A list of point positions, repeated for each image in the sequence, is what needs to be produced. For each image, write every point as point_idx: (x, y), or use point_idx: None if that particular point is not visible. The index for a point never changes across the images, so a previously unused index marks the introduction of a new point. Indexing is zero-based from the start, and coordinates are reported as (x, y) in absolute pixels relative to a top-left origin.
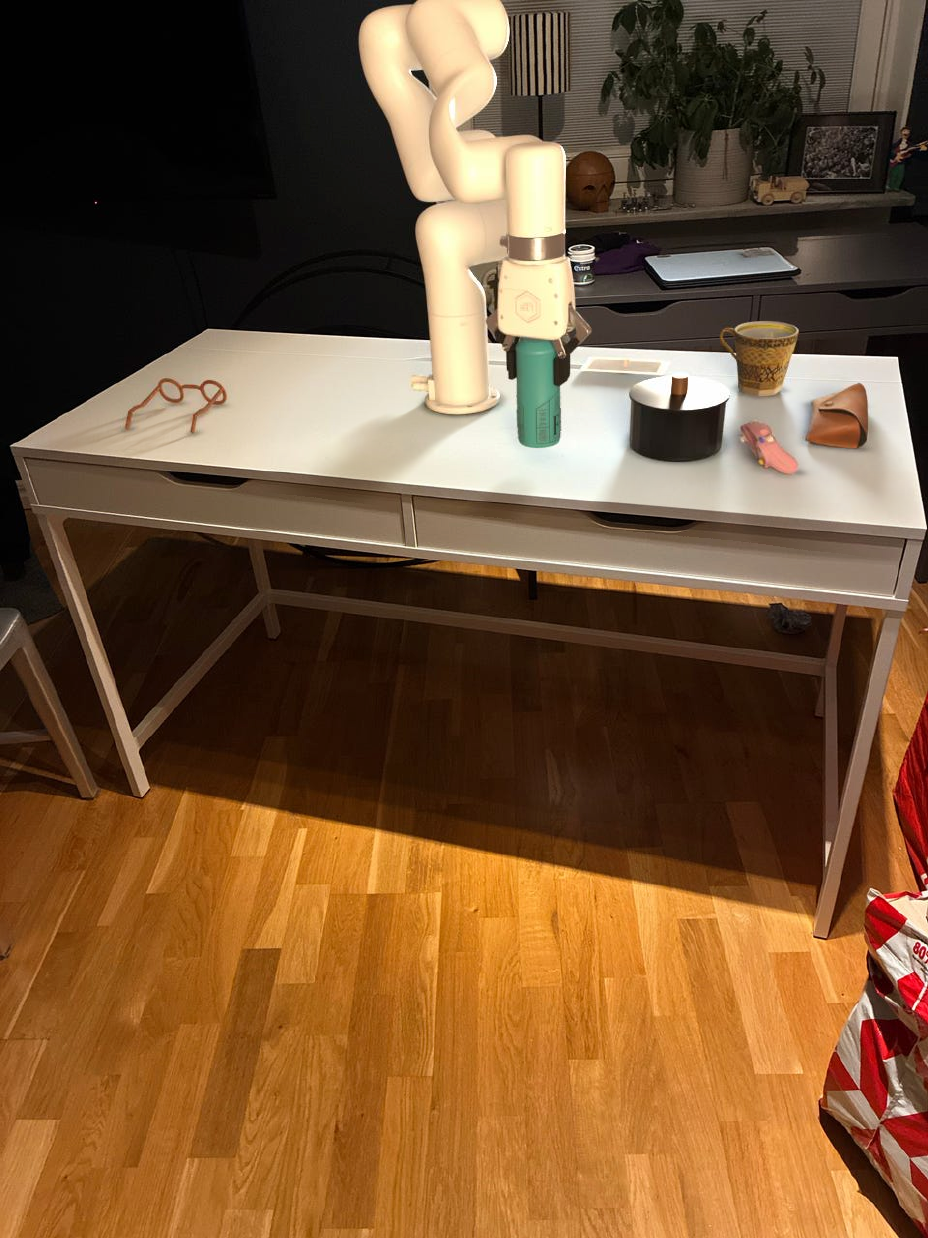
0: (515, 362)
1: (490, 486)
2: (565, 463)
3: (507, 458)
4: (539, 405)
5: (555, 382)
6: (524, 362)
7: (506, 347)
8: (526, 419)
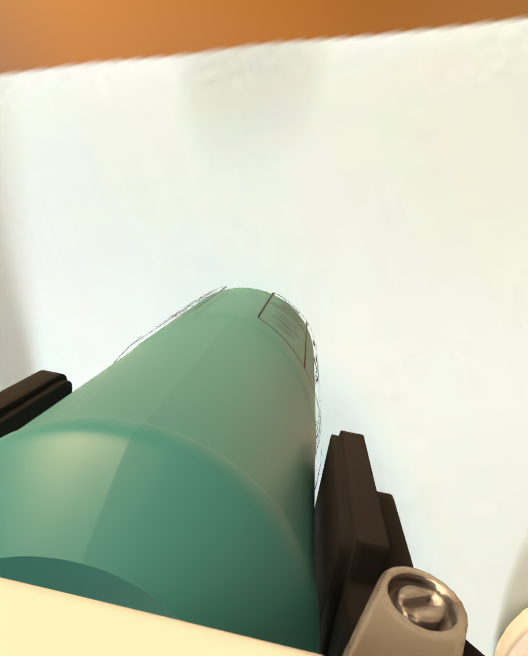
0: (328, 520)
1: (325, 77)
2: (164, 304)
3: (339, 298)
4: (178, 322)
5: (50, 377)
6: (191, 401)
7: (415, 602)
8: (252, 307)
